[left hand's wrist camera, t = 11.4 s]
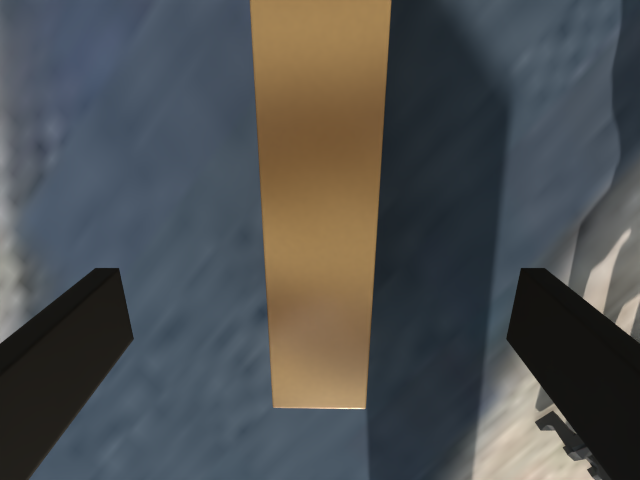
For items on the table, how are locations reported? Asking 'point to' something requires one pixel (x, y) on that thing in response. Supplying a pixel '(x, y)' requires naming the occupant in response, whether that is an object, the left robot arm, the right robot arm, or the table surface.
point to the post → (320, 189)
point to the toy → (572, 444)
